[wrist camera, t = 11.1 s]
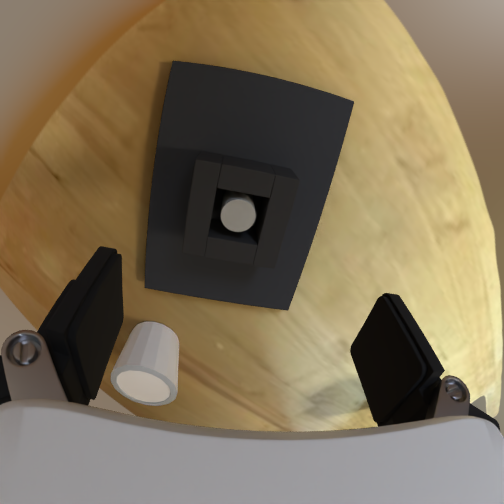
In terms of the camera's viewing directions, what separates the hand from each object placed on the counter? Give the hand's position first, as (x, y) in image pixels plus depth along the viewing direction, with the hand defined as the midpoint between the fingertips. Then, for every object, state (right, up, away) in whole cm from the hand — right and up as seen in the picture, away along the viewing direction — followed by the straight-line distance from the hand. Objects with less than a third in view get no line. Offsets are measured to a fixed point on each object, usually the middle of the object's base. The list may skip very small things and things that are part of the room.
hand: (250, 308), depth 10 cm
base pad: (-1, +7, +15) cm, 16 cm away
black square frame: (-1, +6, +14) cm, 15 cm away
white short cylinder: (-11, -8, +22) cm, 26 cm away
